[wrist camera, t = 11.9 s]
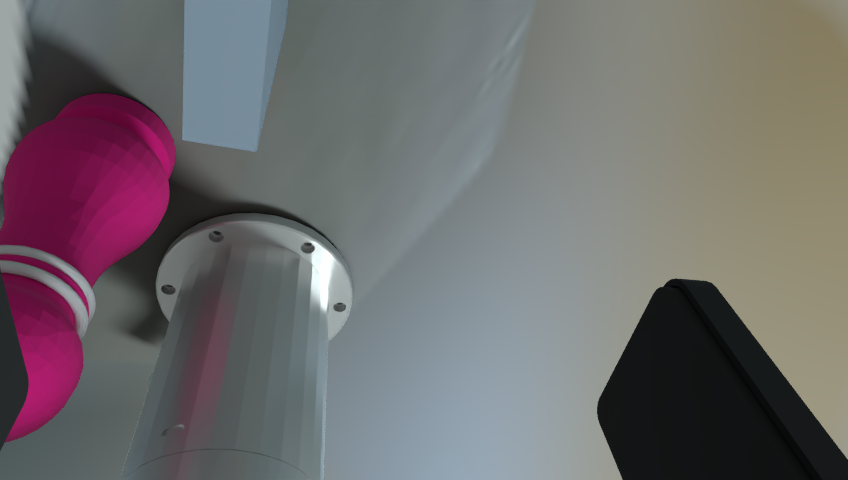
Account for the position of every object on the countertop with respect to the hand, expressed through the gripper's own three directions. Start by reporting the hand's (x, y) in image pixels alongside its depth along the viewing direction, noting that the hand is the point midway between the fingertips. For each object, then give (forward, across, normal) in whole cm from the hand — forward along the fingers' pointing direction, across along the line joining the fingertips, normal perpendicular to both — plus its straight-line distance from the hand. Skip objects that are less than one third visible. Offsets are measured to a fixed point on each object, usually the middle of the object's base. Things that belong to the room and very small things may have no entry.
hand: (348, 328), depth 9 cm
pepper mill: (+26, +11, +12) cm, 31 cm away
